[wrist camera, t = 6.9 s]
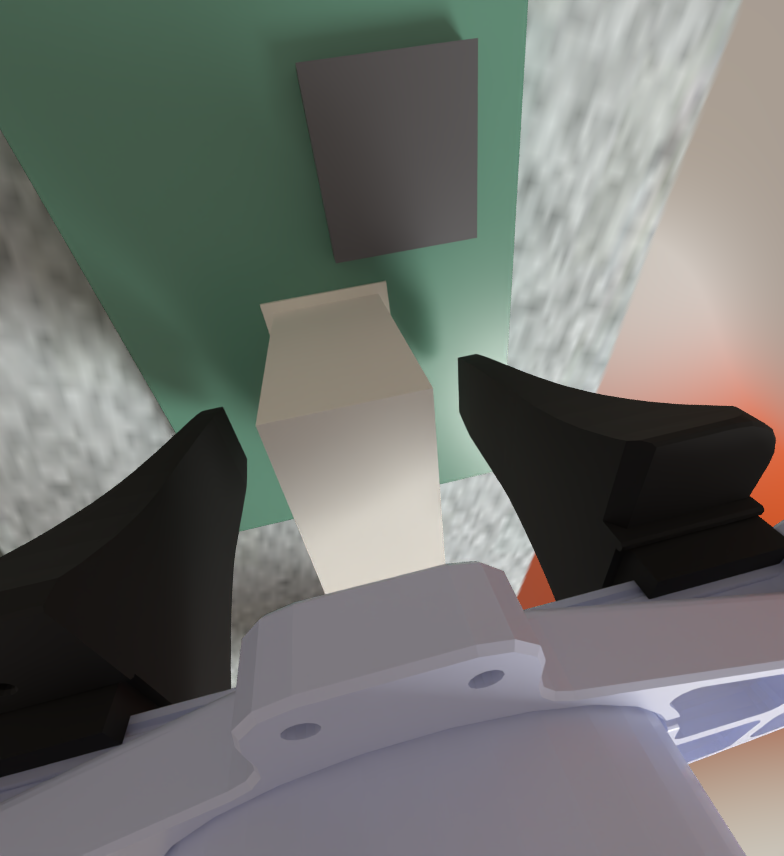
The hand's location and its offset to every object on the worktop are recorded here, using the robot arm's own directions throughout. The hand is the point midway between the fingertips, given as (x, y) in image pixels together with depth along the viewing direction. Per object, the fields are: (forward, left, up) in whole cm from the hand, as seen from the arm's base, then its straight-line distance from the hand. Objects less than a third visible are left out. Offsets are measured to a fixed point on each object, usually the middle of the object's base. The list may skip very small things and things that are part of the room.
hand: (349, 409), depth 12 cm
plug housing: (0, 0, -2) cm, 2 cm away
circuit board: (+2, 0, -3) cm, 4 cm away
